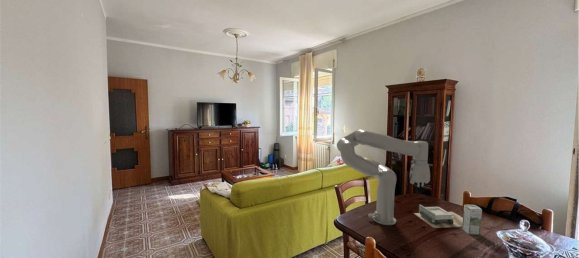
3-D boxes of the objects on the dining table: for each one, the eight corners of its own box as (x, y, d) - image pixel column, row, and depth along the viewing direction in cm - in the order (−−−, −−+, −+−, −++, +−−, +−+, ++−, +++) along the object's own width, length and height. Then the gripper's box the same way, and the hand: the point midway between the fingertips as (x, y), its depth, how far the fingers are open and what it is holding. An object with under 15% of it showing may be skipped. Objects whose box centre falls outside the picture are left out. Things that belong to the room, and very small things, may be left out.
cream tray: (433, 228, 133) (433, 227, 133) (414, 213, 151) (414, 213, 151) (476, 226, 135) (476, 225, 135) (452, 212, 153) (452, 211, 153)
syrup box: (472, 229, 131) (474, 204, 130) (480, 235, 125) (482, 208, 124) (461, 229, 132) (463, 203, 131) (468, 234, 126) (470, 208, 125)
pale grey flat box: (433, 225, 135) (434, 214, 135) (418, 214, 149) (419, 204, 148) (454, 224, 137) (455, 213, 136) (438, 213, 150) (438, 203, 149)
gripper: (411, 164, 134) (410, 195, 136) (436, 163, 136) (435, 194, 137) (404, 161, 142) (403, 191, 143) (427, 160, 143) (426, 190, 145)
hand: (418, 192), depth 140 cm, fingers closed
